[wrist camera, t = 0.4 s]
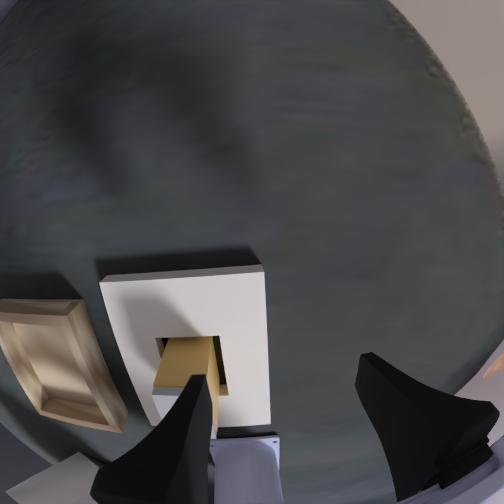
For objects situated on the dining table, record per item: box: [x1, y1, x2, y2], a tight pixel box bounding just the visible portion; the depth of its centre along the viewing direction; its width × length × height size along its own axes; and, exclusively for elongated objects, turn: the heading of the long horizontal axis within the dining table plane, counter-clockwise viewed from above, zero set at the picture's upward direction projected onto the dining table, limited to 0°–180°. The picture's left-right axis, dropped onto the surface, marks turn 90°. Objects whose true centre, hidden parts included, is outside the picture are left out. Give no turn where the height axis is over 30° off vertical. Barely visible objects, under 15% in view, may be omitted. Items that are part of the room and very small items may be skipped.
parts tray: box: [0, 299, 129, 433], centre depth 20 cm, size 14×12×3 cm
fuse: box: [151, 336, 220, 439], centre depth 19 cm, size 5×4×7 cm
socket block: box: [99, 264, 271, 427], centre depth 21 cm, size 16×12×2 cm
